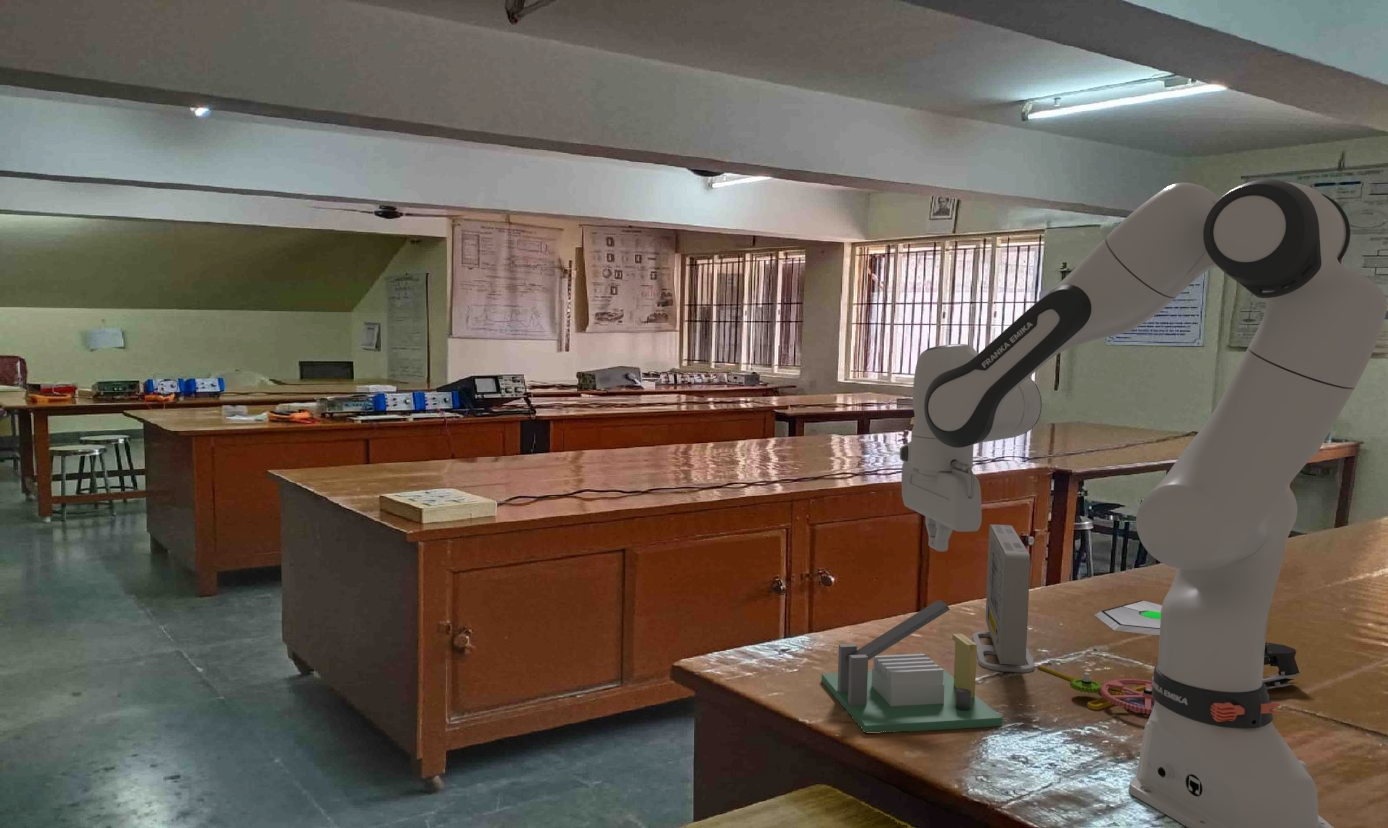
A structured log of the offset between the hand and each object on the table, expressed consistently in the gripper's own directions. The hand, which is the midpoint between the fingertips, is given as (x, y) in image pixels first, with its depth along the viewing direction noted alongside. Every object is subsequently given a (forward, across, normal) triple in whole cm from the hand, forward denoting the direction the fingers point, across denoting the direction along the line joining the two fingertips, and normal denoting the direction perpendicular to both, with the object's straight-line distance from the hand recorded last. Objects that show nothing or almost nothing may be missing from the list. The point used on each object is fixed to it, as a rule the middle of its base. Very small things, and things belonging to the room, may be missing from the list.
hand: (938, 549), depth 141 cm
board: (+23, 0, +4) cm, 23 cm away
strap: (+13, 0, +6) cm, 14 cm away
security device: (+24, +32, -57) cm, 69 cm away
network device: (+23, +19, -21) cm, 36 cm away
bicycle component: (+23, 0, -52) cm, 57 cm away
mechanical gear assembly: (+24, -3, -29) cm, 37 cm away
